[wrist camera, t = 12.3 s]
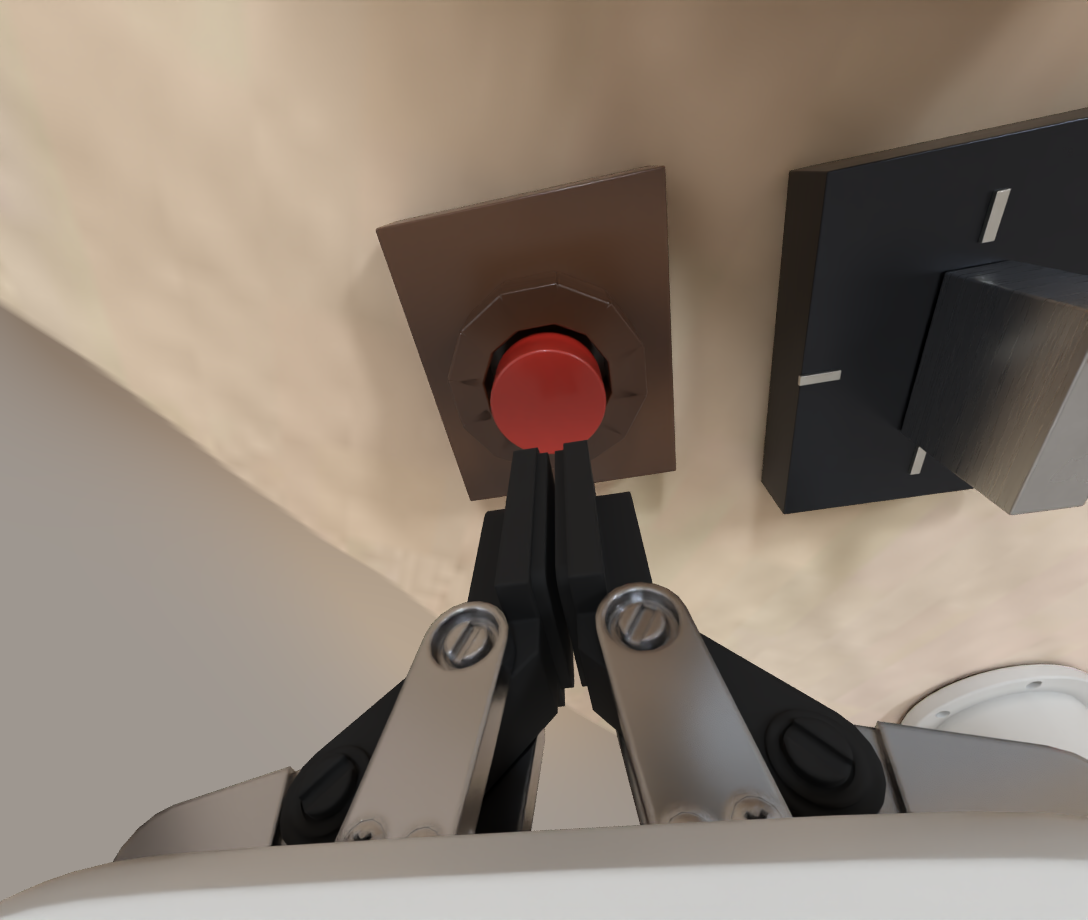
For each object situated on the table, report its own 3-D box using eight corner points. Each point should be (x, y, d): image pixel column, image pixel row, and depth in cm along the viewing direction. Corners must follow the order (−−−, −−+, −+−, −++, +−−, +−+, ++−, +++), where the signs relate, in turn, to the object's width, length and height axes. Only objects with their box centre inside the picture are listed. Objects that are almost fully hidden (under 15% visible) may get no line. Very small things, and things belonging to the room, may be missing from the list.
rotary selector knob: (954, 424, 17) (1092, 512, 13) (899, 433, 18) (1016, 521, 13) (1012, 259, 14) (1221, 301, 10) (943, 271, 14) (1118, 318, 10)
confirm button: (606, 420, 16) (612, 445, 15) (508, 436, 17) (504, 462, 15) (594, 321, 14) (599, 339, 13) (483, 341, 15) (476, 361, 13)
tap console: (985, 449, 21) (1038, 483, 19) (758, 482, 22) (782, 517, 20) (1127, 98, 14) (1236, 86, 12) (785, 171, 15) (827, 172, 13)
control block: (664, 444, 21) (687, 497, 18) (476, 473, 22) (464, 529, 18) (651, 165, 15) (681, 165, 12) (394, 221, 16) (353, 236, 13)
